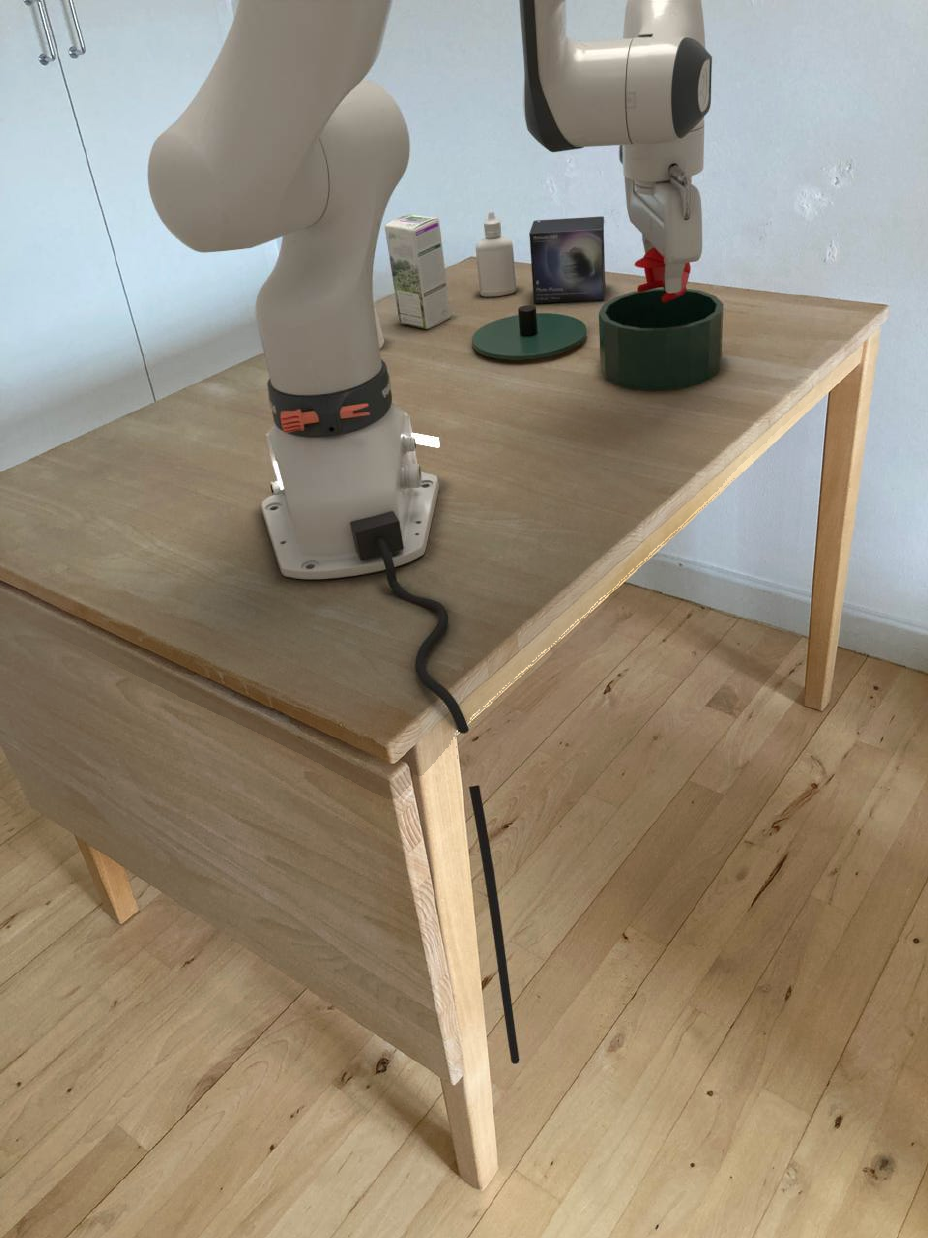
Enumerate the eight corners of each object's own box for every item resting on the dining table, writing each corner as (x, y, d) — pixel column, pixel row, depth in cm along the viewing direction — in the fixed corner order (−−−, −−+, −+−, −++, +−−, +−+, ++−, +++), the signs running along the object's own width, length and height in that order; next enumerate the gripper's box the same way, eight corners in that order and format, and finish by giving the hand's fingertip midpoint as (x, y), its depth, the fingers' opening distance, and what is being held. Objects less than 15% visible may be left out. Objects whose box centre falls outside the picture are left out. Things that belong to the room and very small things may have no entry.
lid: (597, 354, 135) (596, 318, 132) (479, 371, 135) (475, 336, 132) (574, 314, 148) (573, 282, 145) (467, 330, 147) (463, 297, 145)
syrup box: (452, 317, 152) (440, 215, 144) (426, 330, 149) (412, 227, 141) (424, 311, 156) (411, 211, 147) (397, 325, 152) (382, 223, 144)
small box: (532, 305, 153) (527, 232, 147) (536, 290, 158) (532, 219, 152) (604, 301, 151) (602, 227, 145) (606, 286, 156) (604, 214, 150)
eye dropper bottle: (508, 298, 157) (501, 216, 150) (475, 296, 159) (467, 215, 152) (520, 289, 160) (514, 208, 153) (488, 287, 162) (480, 207, 155)
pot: (736, 380, 124) (739, 319, 119) (616, 397, 123) (615, 337, 119) (700, 338, 136) (702, 281, 131) (590, 354, 135) (588, 297, 131)
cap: (653, 283, 128) (653, 233, 125) (698, 287, 125) (700, 237, 122) (623, 305, 123) (622, 253, 119) (670, 310, 120) (670, 257, 116)
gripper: (719, 171, 106) (715, 304, 114) (667, 135, 123) (666, 253, 131) (658, 180, 106) (658, 312, 114) (615, 142, 123) (617, 260, 131)
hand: (662, 280), depth 123 cm, fingers closed on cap, 7 cm apart
